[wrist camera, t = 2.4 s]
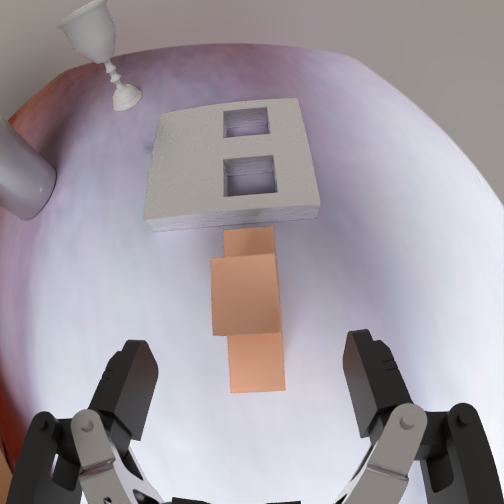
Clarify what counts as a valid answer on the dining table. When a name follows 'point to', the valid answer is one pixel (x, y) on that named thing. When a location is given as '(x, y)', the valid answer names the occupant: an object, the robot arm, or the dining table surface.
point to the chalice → (99, 46)
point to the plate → (229, 166)
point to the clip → (249, 309)
